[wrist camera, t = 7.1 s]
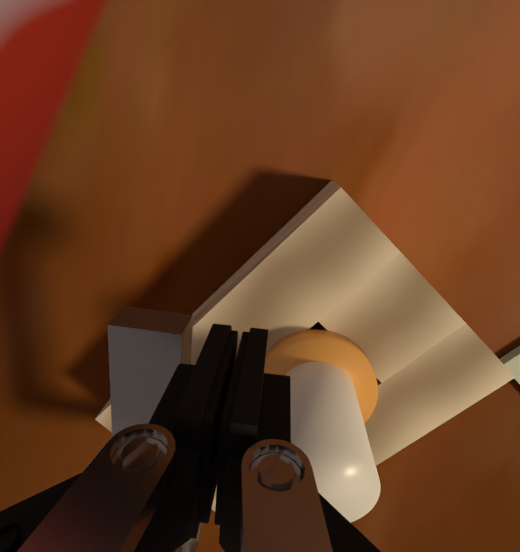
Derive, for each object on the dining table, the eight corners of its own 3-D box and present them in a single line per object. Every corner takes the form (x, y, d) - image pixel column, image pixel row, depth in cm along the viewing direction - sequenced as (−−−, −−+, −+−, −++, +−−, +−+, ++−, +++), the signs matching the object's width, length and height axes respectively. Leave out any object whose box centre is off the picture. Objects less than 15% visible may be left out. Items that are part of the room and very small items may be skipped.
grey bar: (212, 485, 23) (169, 676, 15) (182, 480, 23) (122, 668, 15) (232, 246, 18) (181, 334, 10) (192, 242, 18) (107, 324, 10)
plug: (381, 348, 24) (449, 496, 14) (308, 402, 26) (321, 567, 15) (314, 281, 22) (334, 389, 12) (243, 343, 24) (210, 481, 14)
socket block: (478, 340, 23) (515, 377, 19) (259, 491, 29) (254, 542, 25) (331, 180, 21) (340, 187, 17) (122, 380, 26) (94, 419, 23)
